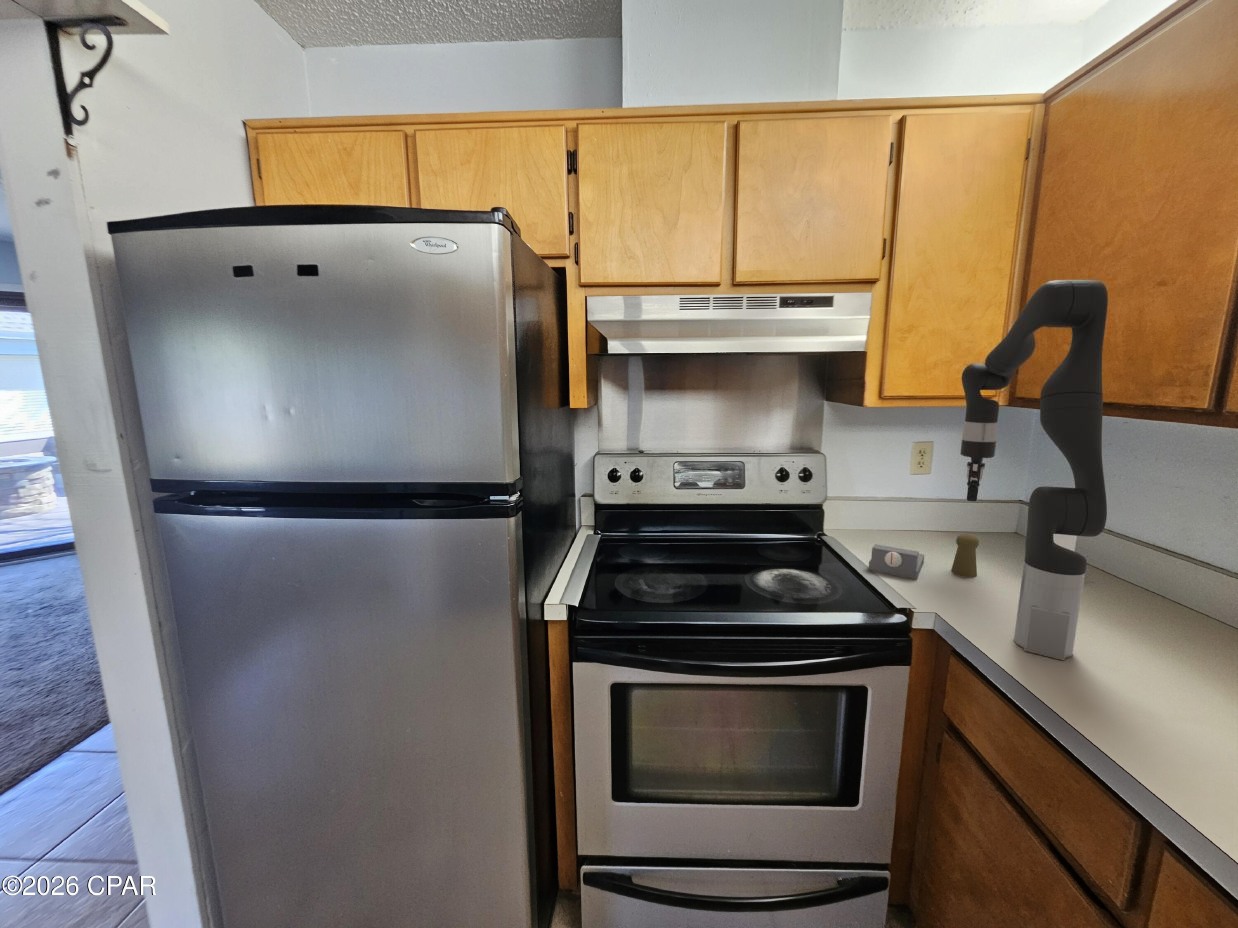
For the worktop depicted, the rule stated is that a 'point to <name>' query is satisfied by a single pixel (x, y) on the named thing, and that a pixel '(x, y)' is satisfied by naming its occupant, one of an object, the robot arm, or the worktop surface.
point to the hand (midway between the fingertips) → (972, 497)
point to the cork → (965, 556)
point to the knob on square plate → (896, 561)
